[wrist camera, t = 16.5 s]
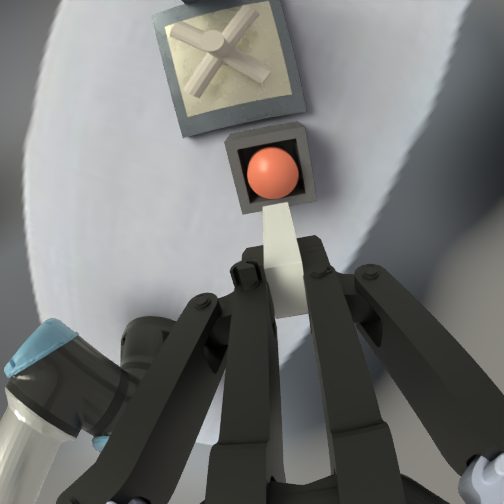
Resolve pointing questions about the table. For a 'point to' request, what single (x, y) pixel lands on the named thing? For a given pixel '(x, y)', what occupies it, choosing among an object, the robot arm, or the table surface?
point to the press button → (272, 172)
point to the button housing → (279, 135)
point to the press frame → (227, 78)
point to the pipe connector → (220, 50)
